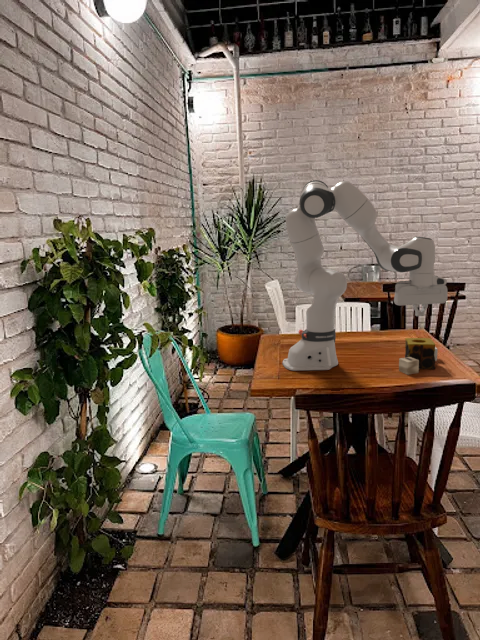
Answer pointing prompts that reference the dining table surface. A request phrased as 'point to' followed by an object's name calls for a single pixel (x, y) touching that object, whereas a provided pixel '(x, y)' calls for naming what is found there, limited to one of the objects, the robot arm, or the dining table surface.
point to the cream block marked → (436, 353)
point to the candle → (421, 351)
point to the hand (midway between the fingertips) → (419, 315)
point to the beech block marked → (408, 365)
